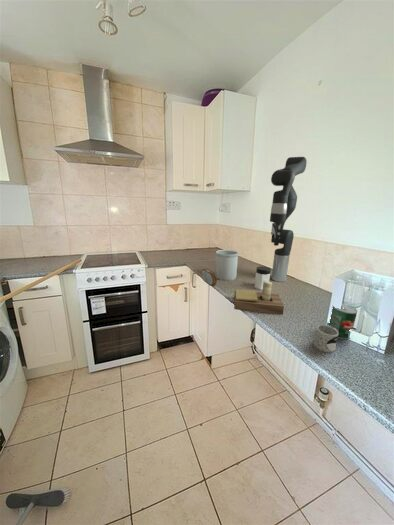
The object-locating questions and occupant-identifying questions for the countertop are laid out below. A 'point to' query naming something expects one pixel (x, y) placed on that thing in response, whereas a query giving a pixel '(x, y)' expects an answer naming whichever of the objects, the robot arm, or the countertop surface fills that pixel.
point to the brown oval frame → (209, 277)
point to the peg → (266, 291)
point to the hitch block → (261, 304)
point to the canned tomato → (342, 321)
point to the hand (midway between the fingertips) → (274, 243)
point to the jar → (262, 276)
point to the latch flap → (246, 295)
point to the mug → (325, 338)
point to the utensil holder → (226, 264)
